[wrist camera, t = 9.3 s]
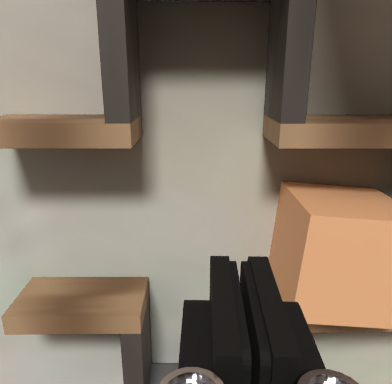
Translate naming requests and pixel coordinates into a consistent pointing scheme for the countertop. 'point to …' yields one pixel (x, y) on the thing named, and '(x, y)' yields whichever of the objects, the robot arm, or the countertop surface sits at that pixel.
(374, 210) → the block
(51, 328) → the trap channel
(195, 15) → the countertop surface
